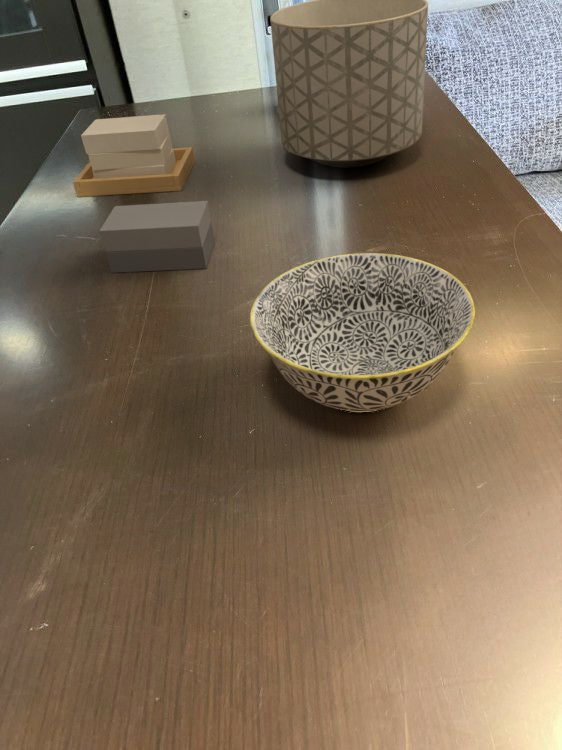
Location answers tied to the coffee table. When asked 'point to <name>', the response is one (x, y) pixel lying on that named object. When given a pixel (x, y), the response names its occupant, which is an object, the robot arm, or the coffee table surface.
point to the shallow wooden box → (137, 179)
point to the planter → (350, 78)
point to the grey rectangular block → (158, 237)
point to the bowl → (362, 327)
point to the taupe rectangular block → (134, 162)
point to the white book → (125, 134)
